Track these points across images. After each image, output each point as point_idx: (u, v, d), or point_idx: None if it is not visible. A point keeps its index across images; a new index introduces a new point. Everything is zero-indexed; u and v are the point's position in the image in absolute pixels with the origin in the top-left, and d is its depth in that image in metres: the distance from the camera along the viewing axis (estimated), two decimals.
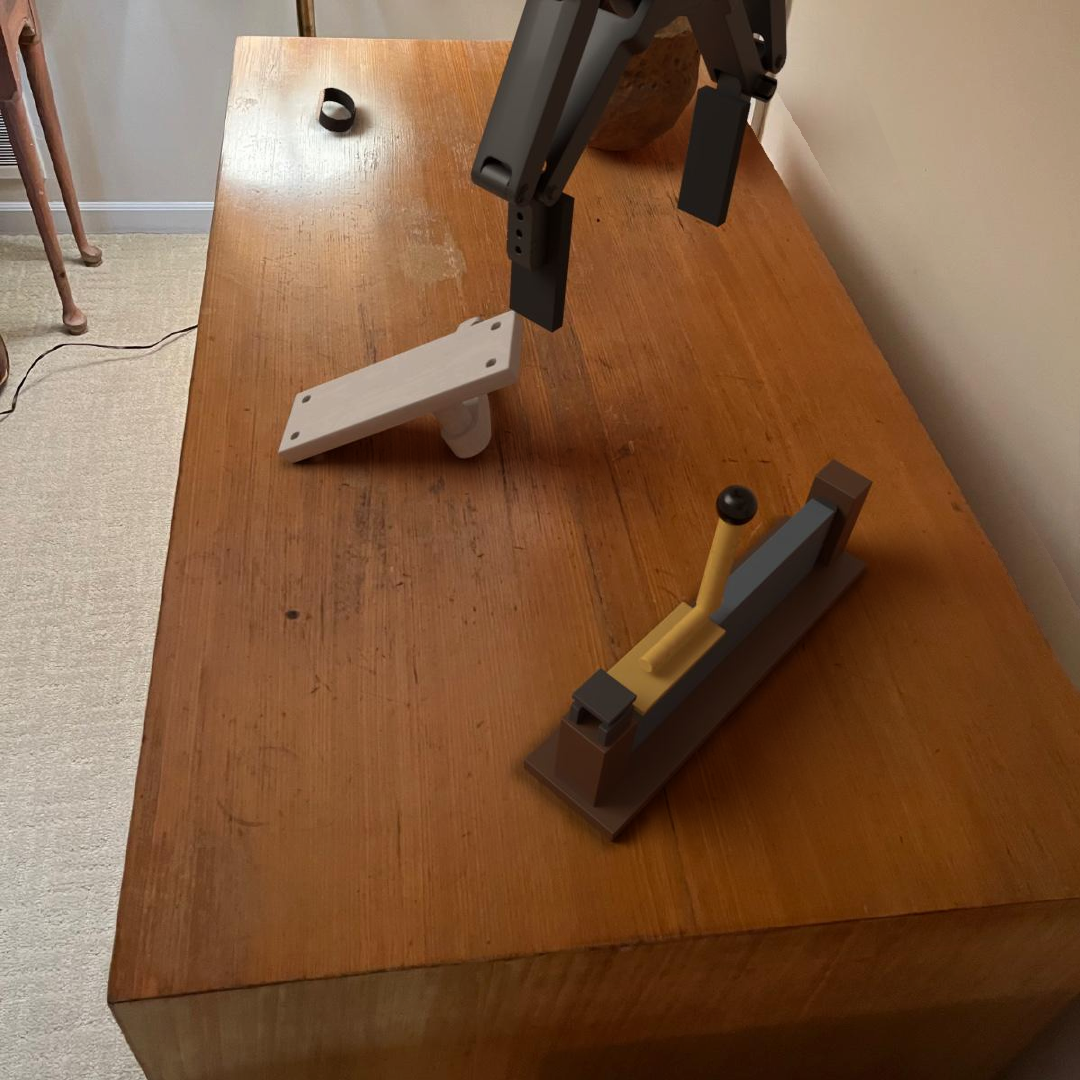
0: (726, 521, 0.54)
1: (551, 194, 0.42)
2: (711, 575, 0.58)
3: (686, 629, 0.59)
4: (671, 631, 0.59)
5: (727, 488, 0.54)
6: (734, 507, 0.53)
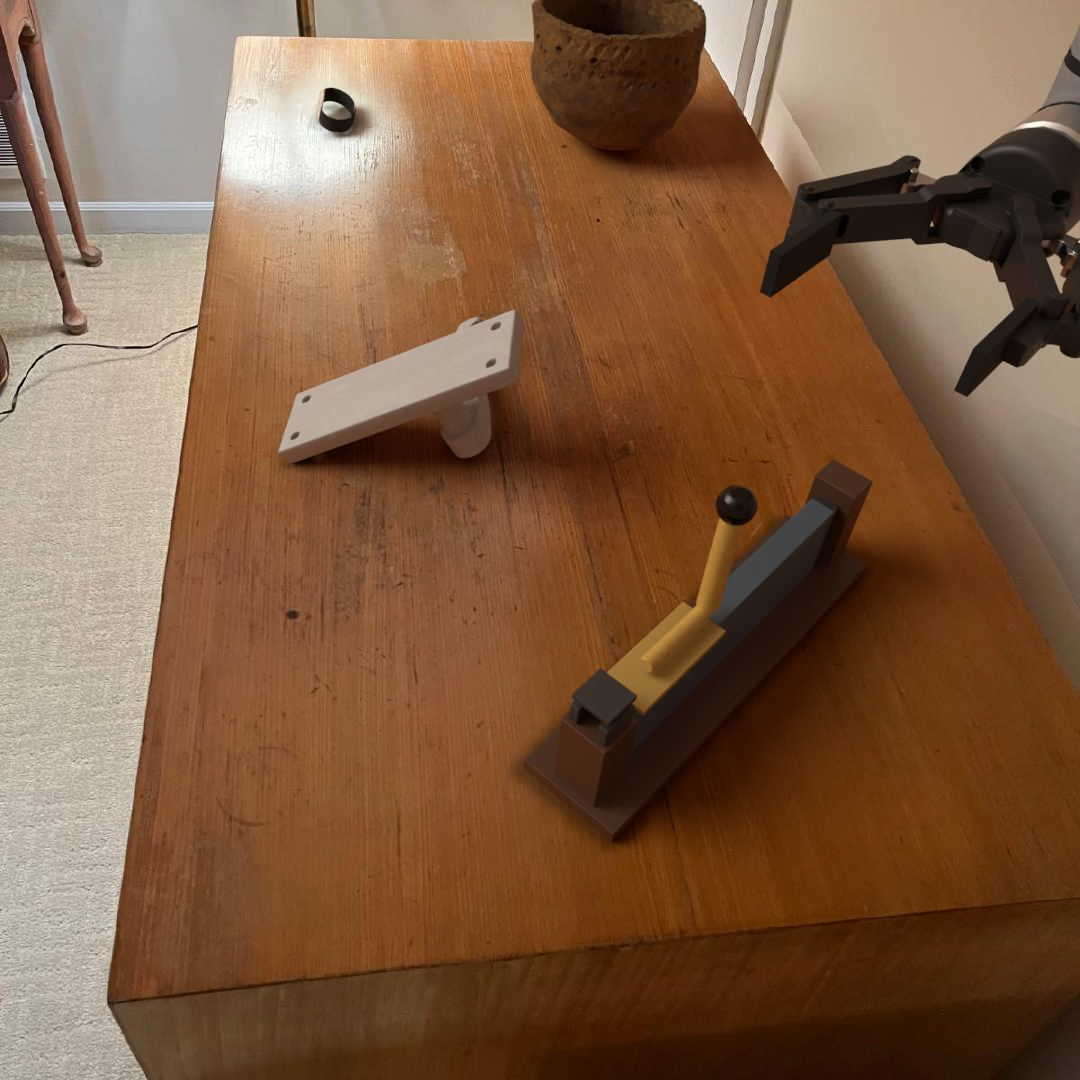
0: (726, 521, 0.54)
1: (825, 200, 0.60)
2: (711, 575, 0.58)
3: (686, 629, 0.59)
4: (671, 631, 0.59)
5: (727, 488, 0.54)
6: (734, 507, 0.53)
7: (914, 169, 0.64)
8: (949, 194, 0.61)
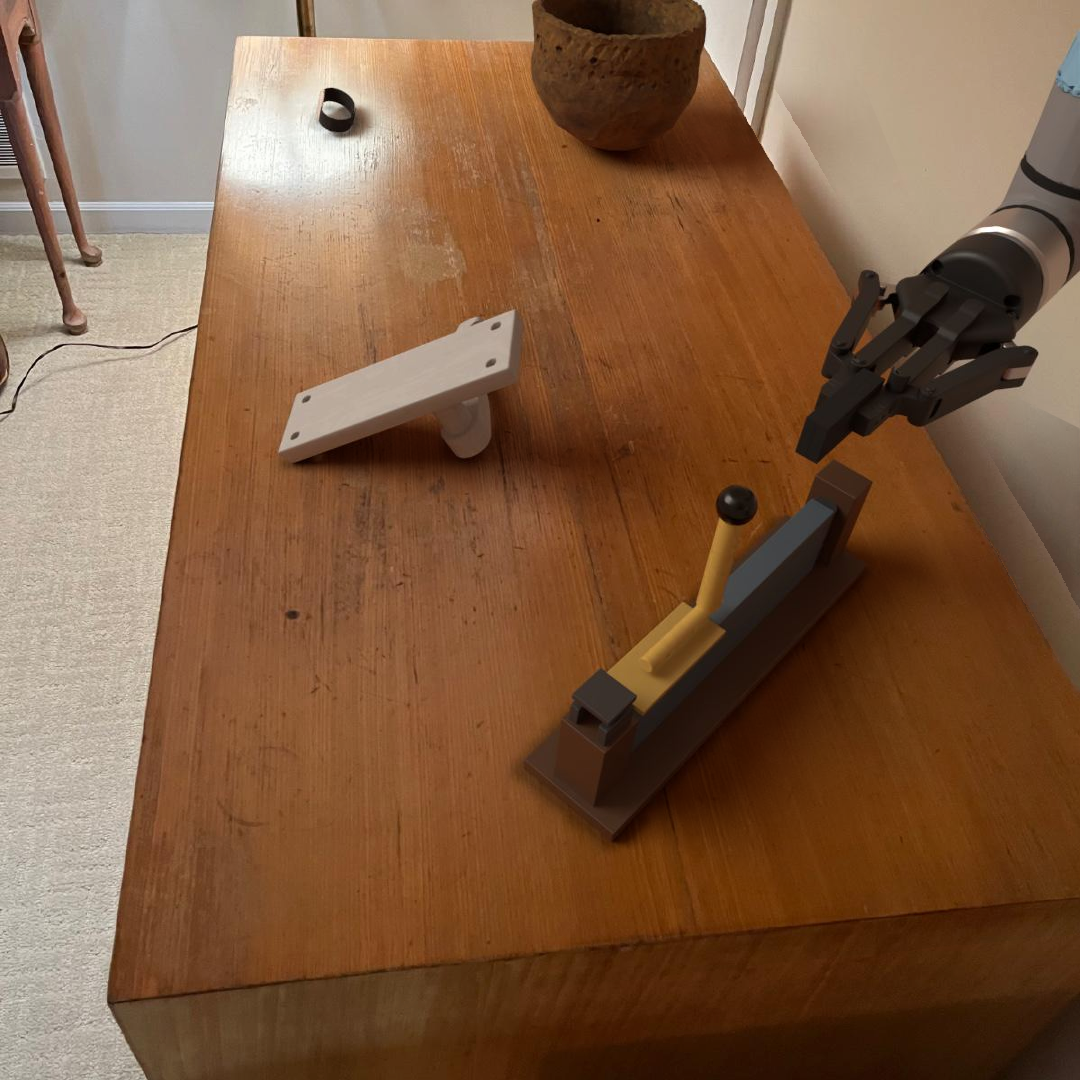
0: (726, 521, 0.54)
1: (857, 358, 0.62)
2: (711, 575, 0.58)
3: (686, 629, 0.59)
4: (671, 631, 0.59)
5: (727, 488, 0.54)
6: (734, 507, 0.53)
7: (882, 284, 0.68)
8: (929, 310, 0.66)
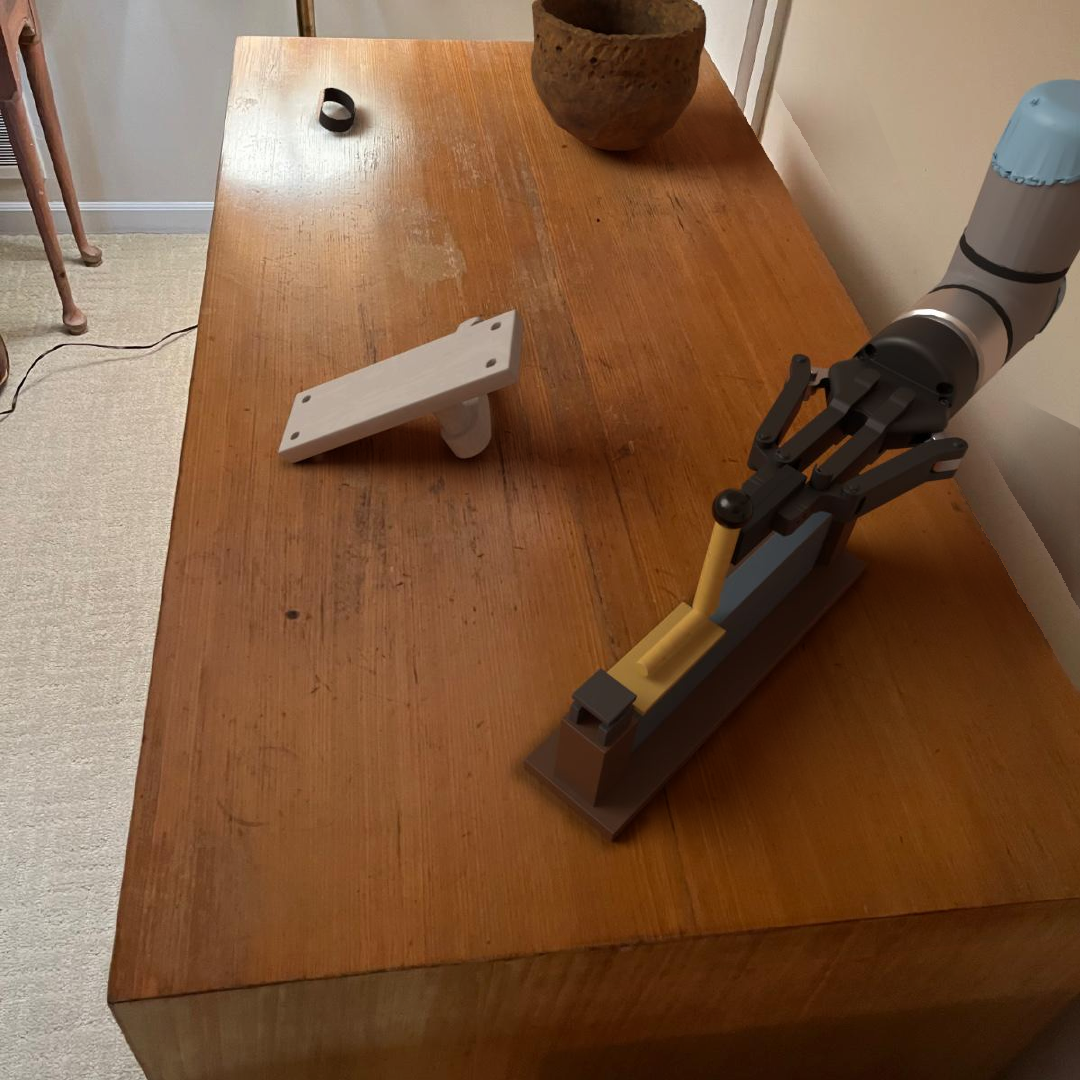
0: (722, 525, 0.54)
1: (780, 454, 0.61)
2: (707, 578, 0.58)
3: (683, 633, 0.59)
4: (667, 635, 0.59)
5: (723, 491, 0.54)
6: (730, 510, 0.53)
7: (813, 370, 0.67)
8: (858, 399, 0.64)
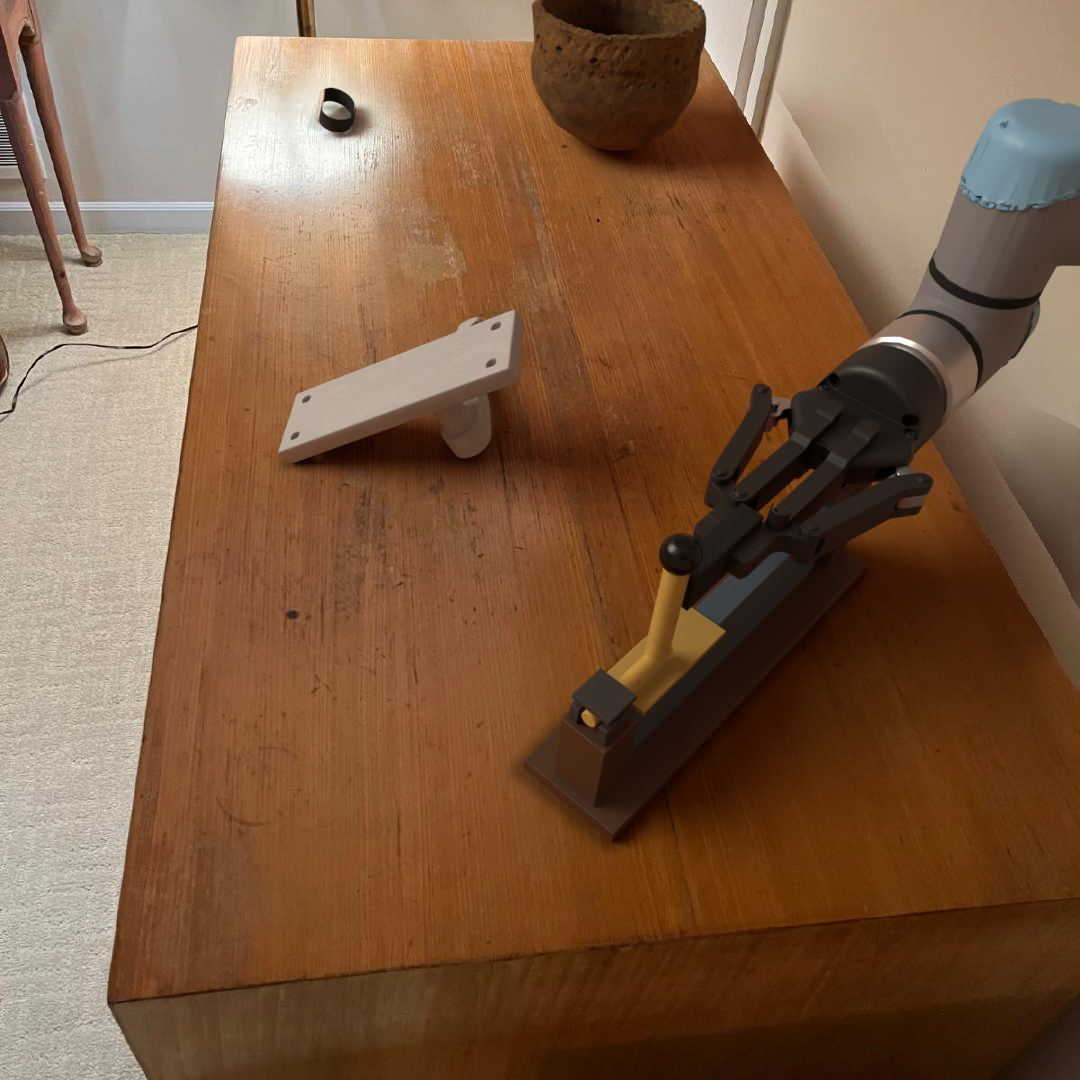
0: (669, 571, 0.51)
1: (737, 491, 0.58)
2: (657, 625, 0.55)
3: (633, 681, 0.56)
4: None
5: (670, 537, 0.51)
6: (676, 557, 0.51)
7: (774, 401, 0.64)
8: (820, 432, 0.62)
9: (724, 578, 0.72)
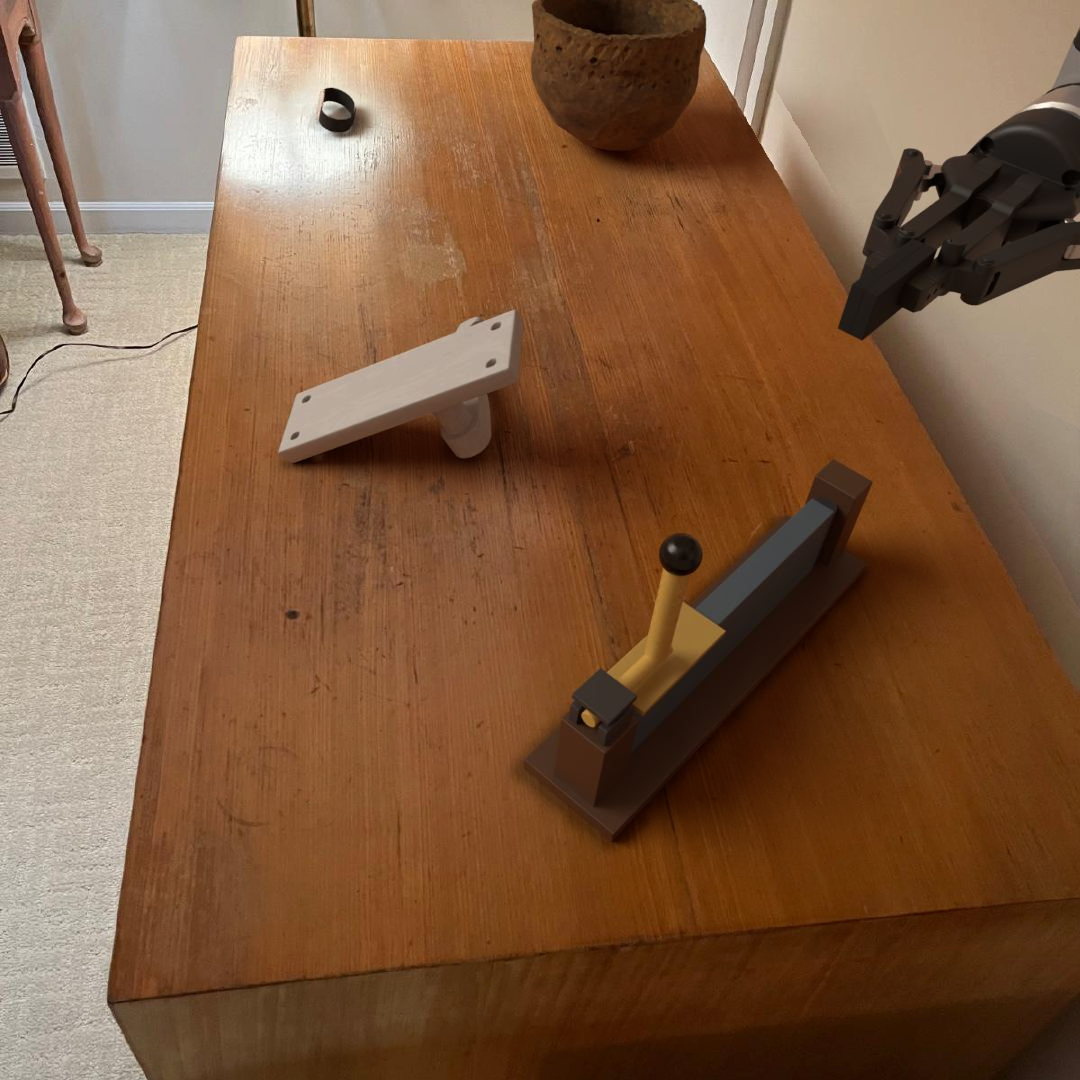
0: (669, 571, 0.51)
1: (905, 230, 0.56)
2: (657, 625, 0.55)
3: (633, 681, 0.56)
4: None
5: (670, 537, 0.51)
6: (676, 557, 0.51)
7: (927, 162, 0.62)
8: (981, 184, 0.59)
9: (724, 578, 0.72)
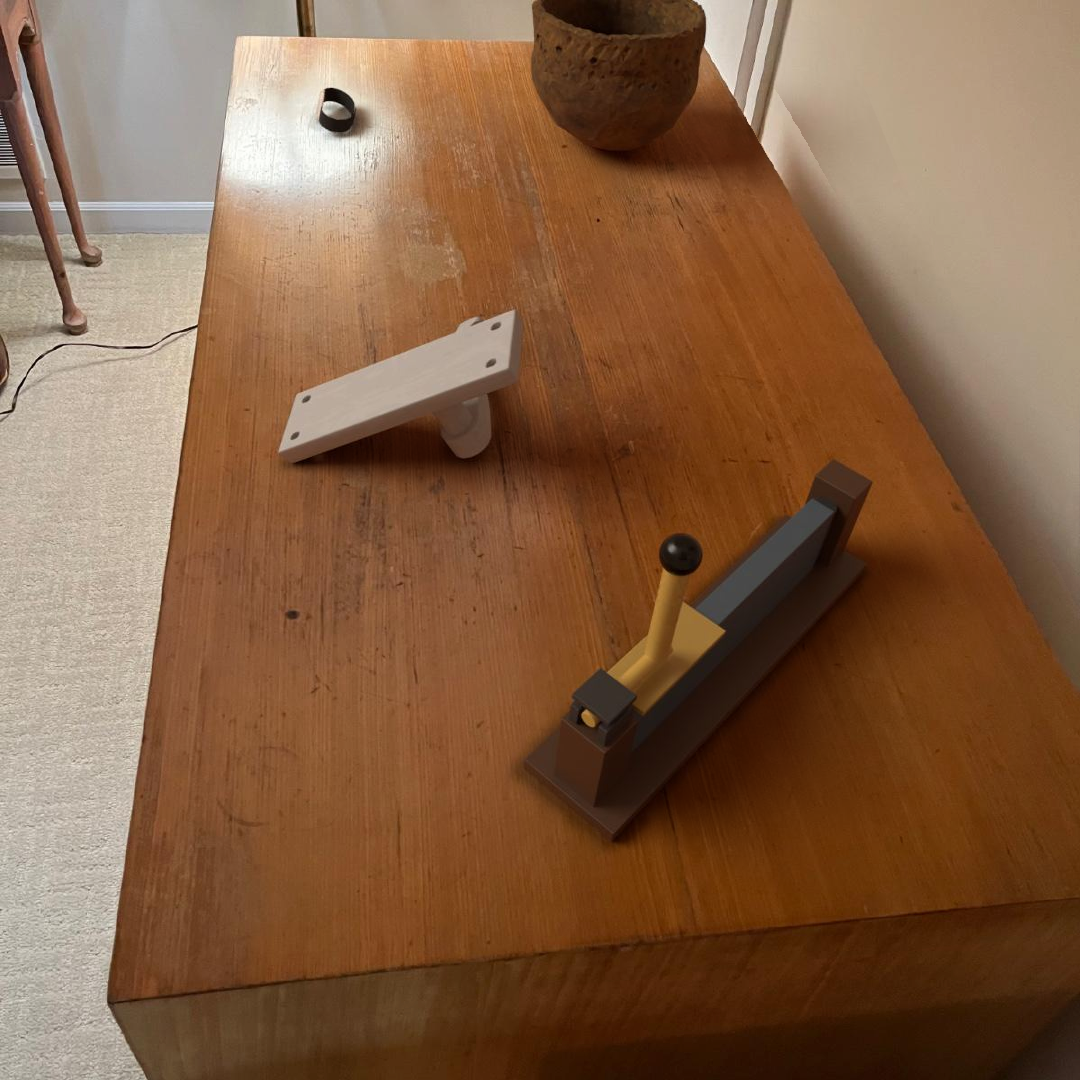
0: (669, 571, 0.51)
1: None
2: (657, 625, 0.55)
3: (633, 681, 0.56)
4: None
5: (670, 537, 0.51)
6: (676, 557, 0.51)
7: None
8: None
9: (724, 578, 0.72)
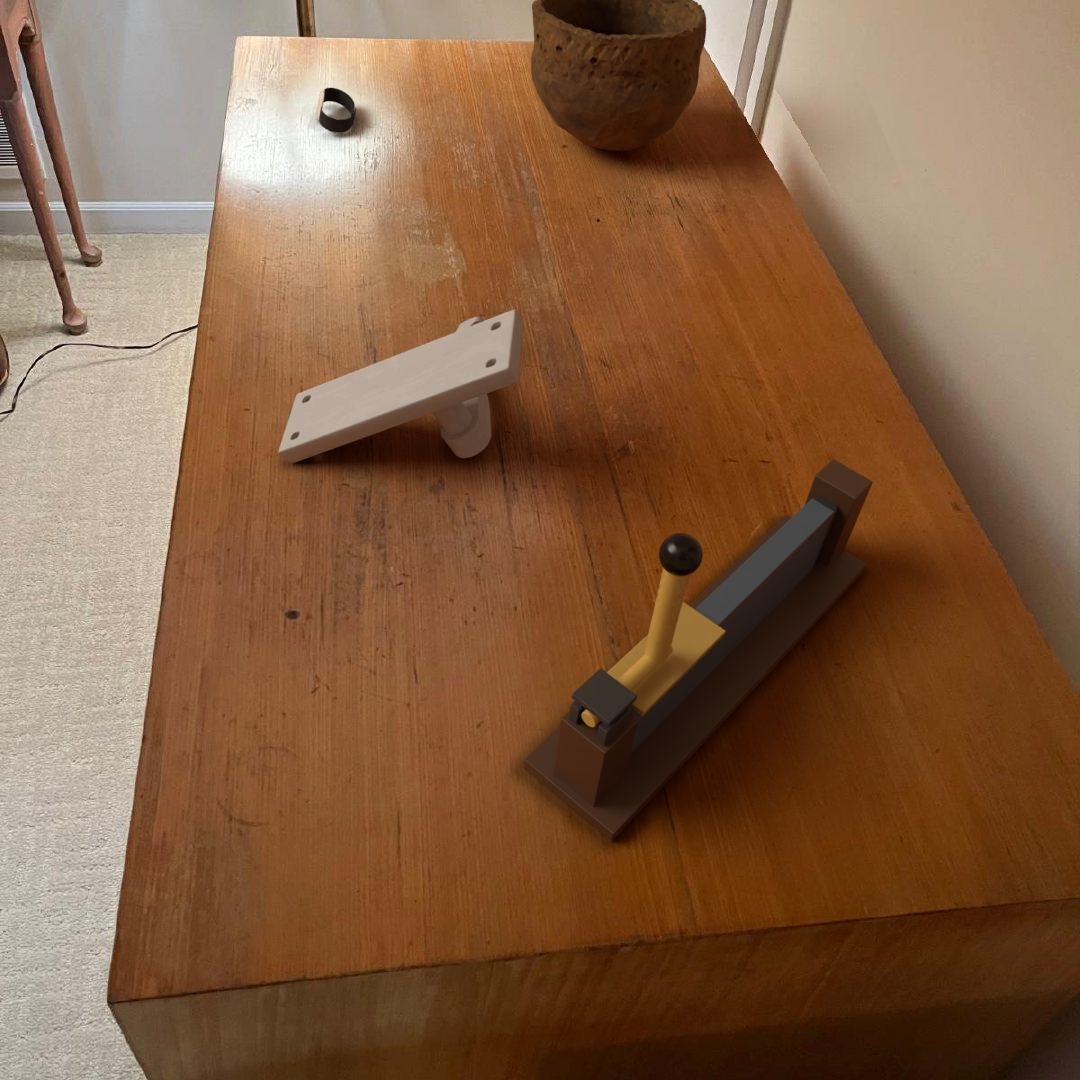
0: (669, 571, 0.51)
1: None
2: (657, 625, 0.55)
3: (633, 681, 0.56)
4: None
5: (670, 537, 0.51)
6: (676, 557, 0.51)
7: None
8: None
9: (724, 578, 0.72)
